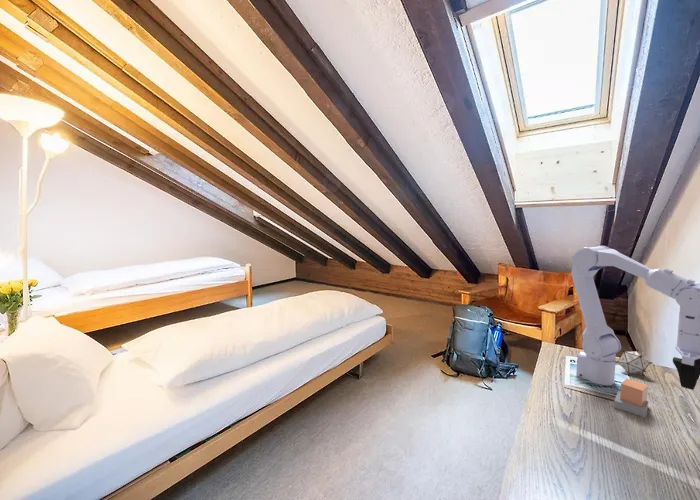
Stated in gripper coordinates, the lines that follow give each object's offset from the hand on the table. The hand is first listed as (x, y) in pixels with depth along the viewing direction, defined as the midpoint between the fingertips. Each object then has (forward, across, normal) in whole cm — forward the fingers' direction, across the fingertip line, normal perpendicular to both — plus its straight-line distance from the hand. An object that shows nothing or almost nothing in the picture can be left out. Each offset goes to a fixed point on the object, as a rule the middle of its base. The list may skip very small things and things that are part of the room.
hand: (689, 382), depth 82 cm
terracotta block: (+7, -6, +10) cm, 13 cm away
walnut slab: (+11, -6, +10) cm, 16 cm away
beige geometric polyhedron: (+11, +20, +15) cm, 27 cm away
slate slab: (+9, -6, +10) cm, 15 cm away
